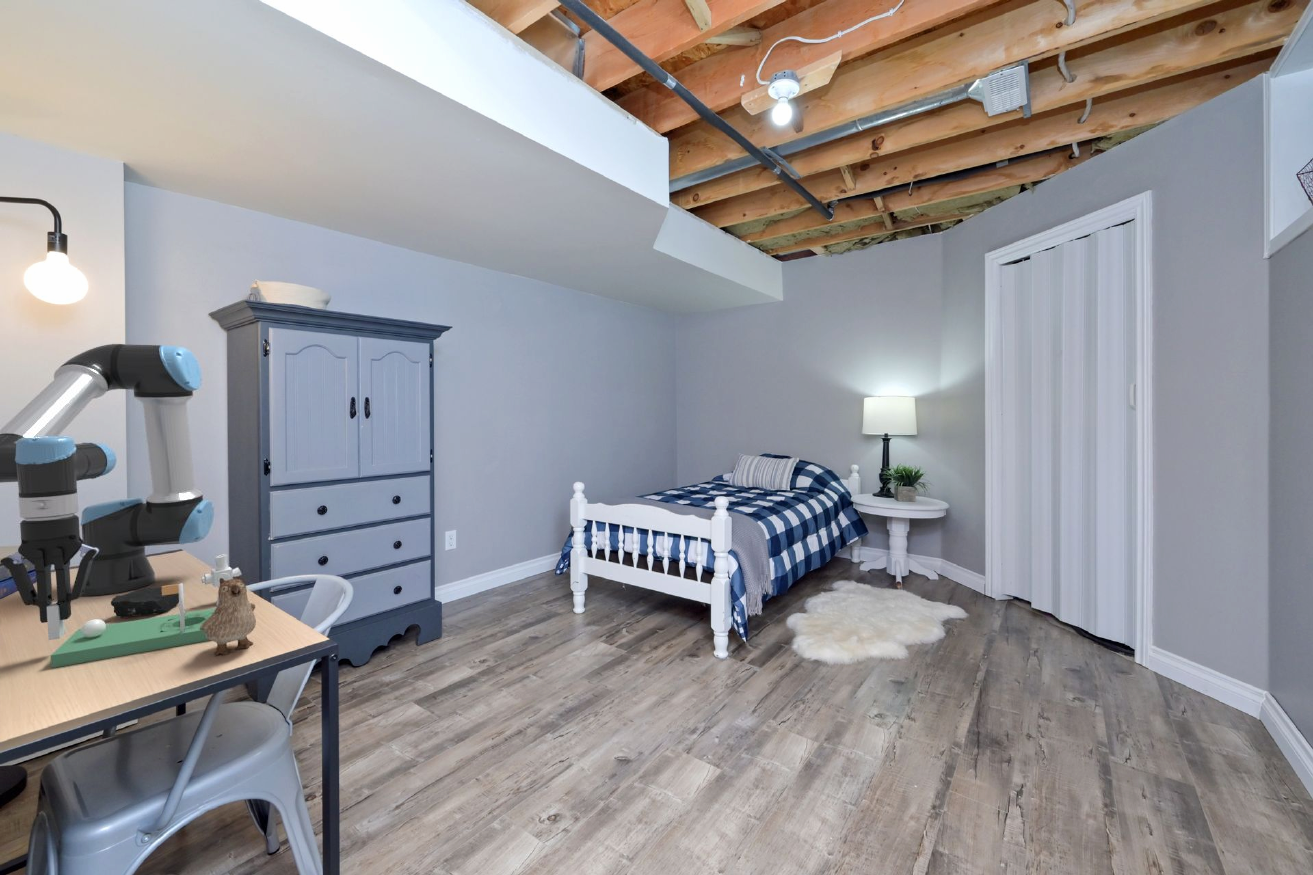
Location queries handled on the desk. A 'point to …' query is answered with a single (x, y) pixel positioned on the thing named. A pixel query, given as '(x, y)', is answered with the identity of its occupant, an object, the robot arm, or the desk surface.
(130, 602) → the rock
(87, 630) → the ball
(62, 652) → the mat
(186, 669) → the desk surface
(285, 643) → the desk surface
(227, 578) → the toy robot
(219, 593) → the figurine
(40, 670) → the desk surface
